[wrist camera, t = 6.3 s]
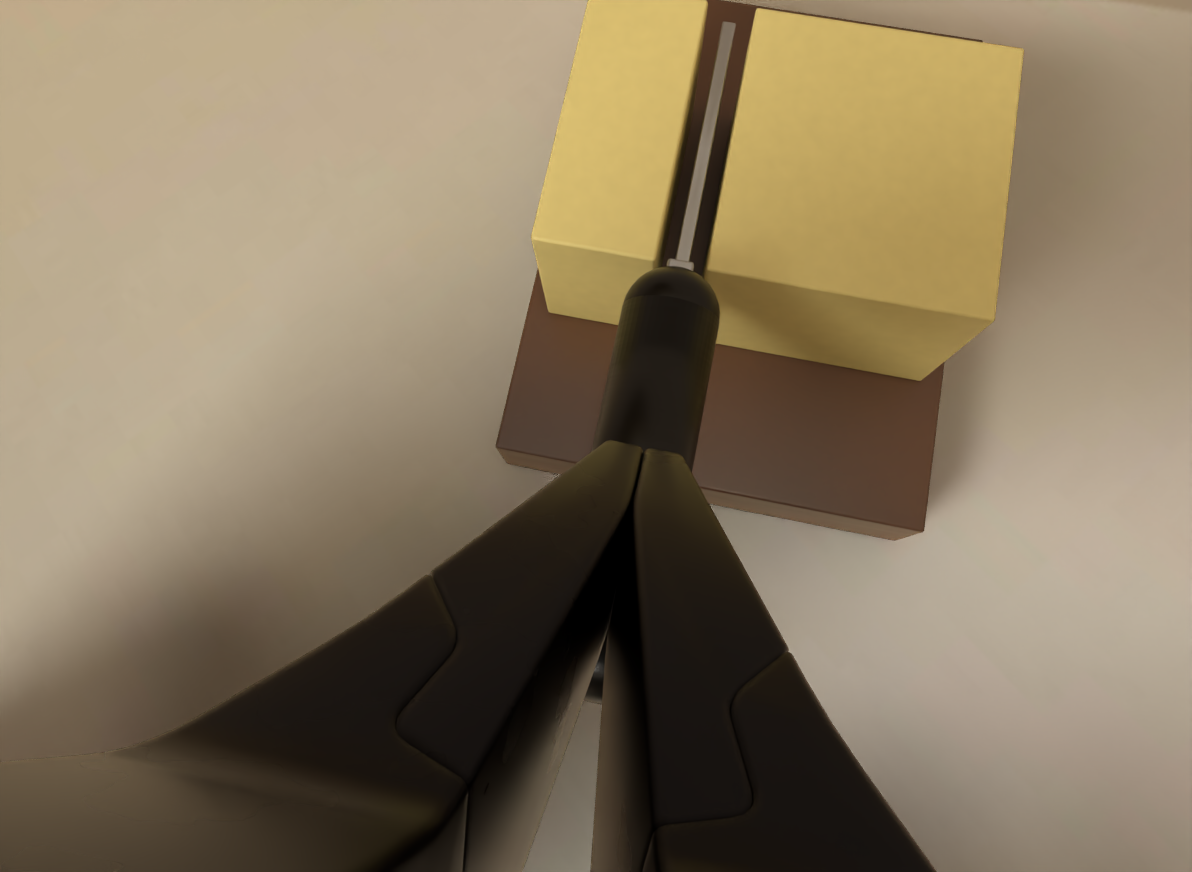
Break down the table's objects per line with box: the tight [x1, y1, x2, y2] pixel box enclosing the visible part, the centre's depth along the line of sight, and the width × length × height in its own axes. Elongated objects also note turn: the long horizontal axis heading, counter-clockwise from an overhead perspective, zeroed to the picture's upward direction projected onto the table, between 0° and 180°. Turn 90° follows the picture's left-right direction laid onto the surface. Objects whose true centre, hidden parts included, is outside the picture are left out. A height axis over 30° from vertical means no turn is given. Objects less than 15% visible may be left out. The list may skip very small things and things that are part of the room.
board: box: [496, 0, 983, 540], centre depth 21 cm, size 13×10×2 cm
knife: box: [584, 22, 736, 704], centre depth 17 cm, size 14×2×5 cm, turn 168°
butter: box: [531, 0, 1024, 381], centre depth 19 cm, size 6×9×4 cm, turn 78°
